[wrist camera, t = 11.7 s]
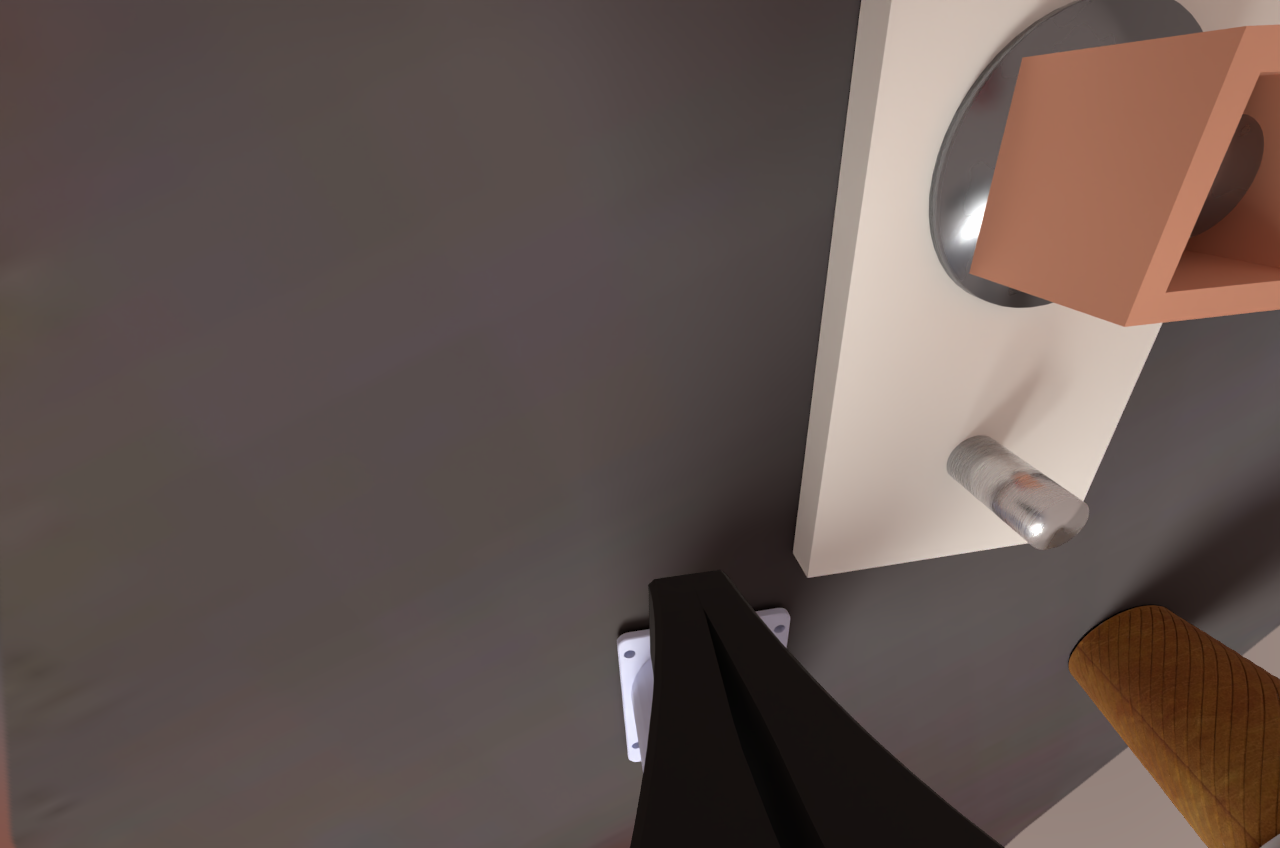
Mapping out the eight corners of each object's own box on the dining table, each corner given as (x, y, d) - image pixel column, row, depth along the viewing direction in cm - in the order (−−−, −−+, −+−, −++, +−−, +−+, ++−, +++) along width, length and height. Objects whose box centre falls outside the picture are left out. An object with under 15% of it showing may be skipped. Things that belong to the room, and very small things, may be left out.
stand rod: (988, 476, 21) (1075, 544, 18) (941, 482, 21) (1020, 553, 17) (1003, 432, 20) (1098, 495, 17) (953, 438, 20) (1040, 504, 16)
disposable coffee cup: (1224, 614, 32) (1556, 850, 21) (1090, 710, 35) (1324, 958, 24) (1153, 559, 28) (1513, 813, 18) (1010, 672, 31) (1245, 946, 21)
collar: (1207, 48, 14) (1498, 15, 10) (1127, 258, 17) (1329, 303, 13) (1022, 57, 14) (1246, 26, 9) (968, 273, 16) (1123, 326, 12)
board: (1039, 515, 25) (1067, 536, 24) (792, 553, 24) (807, 578, 22) (1265, -46, 15) (1332, -61, 14) (866, -39, 14) (899, -56, 13)
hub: (1126, 292, 18) (1265, 331, 15) (904, 314, 17) (996, 362, 14) (1247, -11, 14) (1475, -54, 11) (968, -3, 13) (1119, -48, 10)
